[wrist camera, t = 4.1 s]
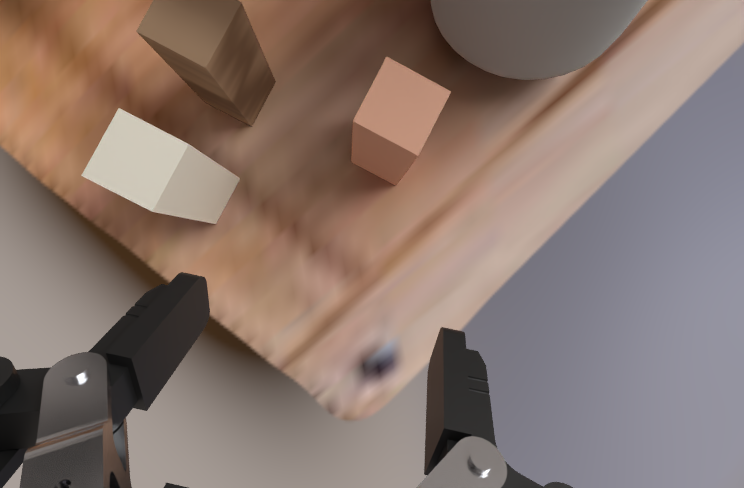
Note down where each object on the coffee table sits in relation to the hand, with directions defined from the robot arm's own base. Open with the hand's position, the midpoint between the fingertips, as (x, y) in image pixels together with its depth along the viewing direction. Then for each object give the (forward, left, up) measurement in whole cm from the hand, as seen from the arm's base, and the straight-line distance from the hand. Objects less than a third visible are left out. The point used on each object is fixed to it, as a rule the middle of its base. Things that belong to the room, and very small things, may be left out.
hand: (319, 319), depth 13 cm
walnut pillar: (-10, +13, -18) cm, 24 cm away
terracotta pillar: (+2, +11, -18) cm, 21 cm away
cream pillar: (-11, +5, -18) cm, 22 cm away
